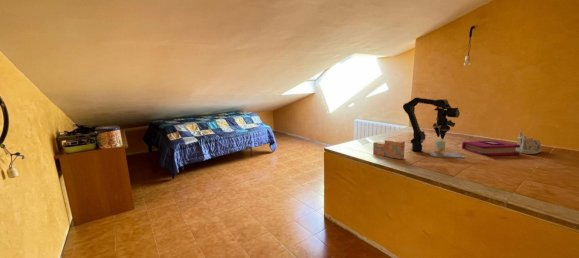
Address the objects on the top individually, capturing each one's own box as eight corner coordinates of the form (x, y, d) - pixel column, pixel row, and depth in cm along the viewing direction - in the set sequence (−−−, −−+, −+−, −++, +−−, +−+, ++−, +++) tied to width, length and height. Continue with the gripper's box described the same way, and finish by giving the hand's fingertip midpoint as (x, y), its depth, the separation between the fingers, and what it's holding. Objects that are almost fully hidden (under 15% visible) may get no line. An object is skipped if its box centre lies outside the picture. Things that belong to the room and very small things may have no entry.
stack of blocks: (372, 154, 188) (373, 138, 186) (377, 152, 192) (377, 137, 191) (400, 159, 172) (401, 142, 171) (404, 157, 176) (405, 140, 175)
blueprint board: (432, 157, 175) (432, 155, 175) (427, 153, 187) (428, 152, 187) (464, 158, 170) (464, 157, 170) (457, 154, 181) (457, 153, 181)
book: (461, 149, 196) (462, 140, 195) (494, 148, 197) (495, 139, 196) (483, 156, 176) (484, 145, 174) (520, 154, 177) (521, 144, 176)
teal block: (437, 148, 177) (437, 141, 176) (435, 146, 182) (435, 140, 181) (444, 148, 175) (445, 141, 175) (442, 147, 180) (443, 140, 180)
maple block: (436, 154, 178) (437, 148, 177) (434, 153, 182) (434, 146, 182) (444, 155, 176) (444, 148, 175) (442, 153, 181) (442, 147, 180)
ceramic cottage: (521, 153, 179) (523, 133, 177) (511, 148, 194) (513, 130, 192) (549, 155, 173) (552, 134, 171) (536, 150, 188) (539, 130, 186)
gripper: (459, 118, 164) (458, 140, 166) (449, 115, 182) (448, 136, 184) (441, 118, 167) (439, 140, 169) (433, 115, 185) (431, 135, 187)
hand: (440, 138), depth 178 cm, fingers open, 9 cm apart
